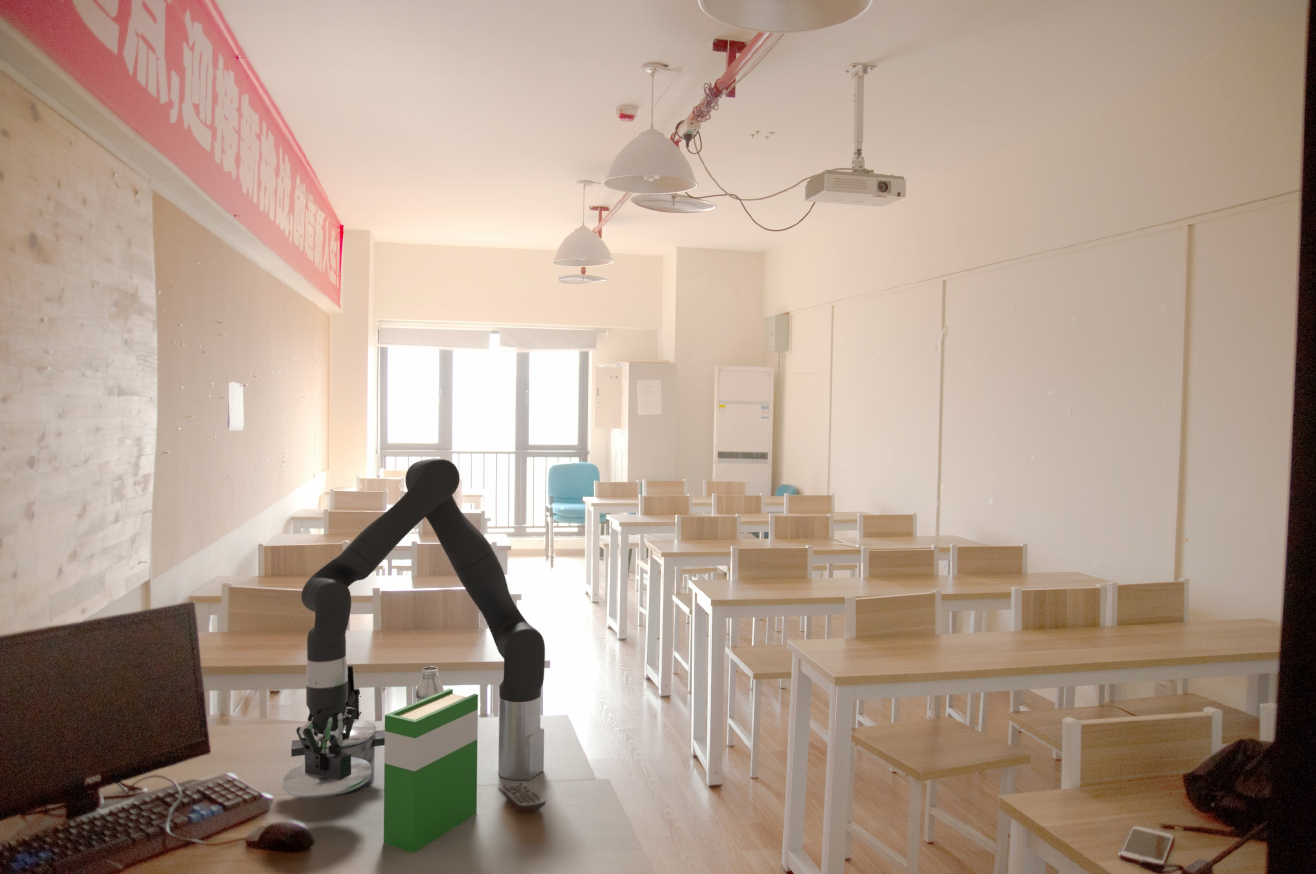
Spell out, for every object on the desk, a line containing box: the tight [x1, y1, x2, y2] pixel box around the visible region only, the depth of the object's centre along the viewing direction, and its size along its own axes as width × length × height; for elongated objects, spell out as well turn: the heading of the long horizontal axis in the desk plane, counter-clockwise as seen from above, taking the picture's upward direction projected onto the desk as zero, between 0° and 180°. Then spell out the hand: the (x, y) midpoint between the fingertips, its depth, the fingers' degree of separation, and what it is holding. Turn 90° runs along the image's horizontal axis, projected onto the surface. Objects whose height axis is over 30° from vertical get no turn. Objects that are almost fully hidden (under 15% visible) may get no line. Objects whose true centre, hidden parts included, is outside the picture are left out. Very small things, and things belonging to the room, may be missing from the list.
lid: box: [282, 749, 371, 799], centre depth 163 cm, size 16×16×5 cm
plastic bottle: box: [414, 666, 445, 702], centre depth 198 cm, size 6×7×20 cm
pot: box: [290, 719, 385, 797], centre depth 182 cm, size 19×15×11 cm
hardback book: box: [383, 688, 479, 854], centre depth 162 cm, size 18×7×24 cm, turn 153°
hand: (328, 767), depth 163 cm, fingers closed on lid, 3 cm apart
